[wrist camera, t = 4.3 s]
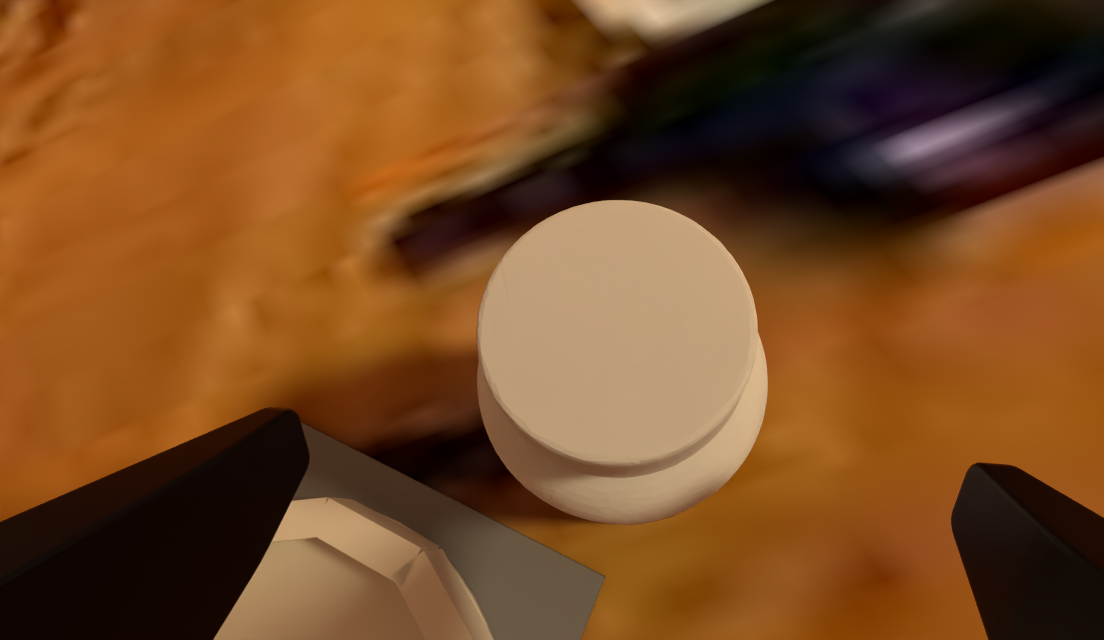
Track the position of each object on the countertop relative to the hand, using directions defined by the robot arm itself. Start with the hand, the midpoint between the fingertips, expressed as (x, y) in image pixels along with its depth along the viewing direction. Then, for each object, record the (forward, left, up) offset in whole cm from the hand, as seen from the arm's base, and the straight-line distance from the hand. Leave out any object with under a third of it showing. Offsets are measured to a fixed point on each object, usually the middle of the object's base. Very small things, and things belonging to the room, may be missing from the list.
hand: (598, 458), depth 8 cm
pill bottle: (+2, +1, -9) cm, 10 cm away
